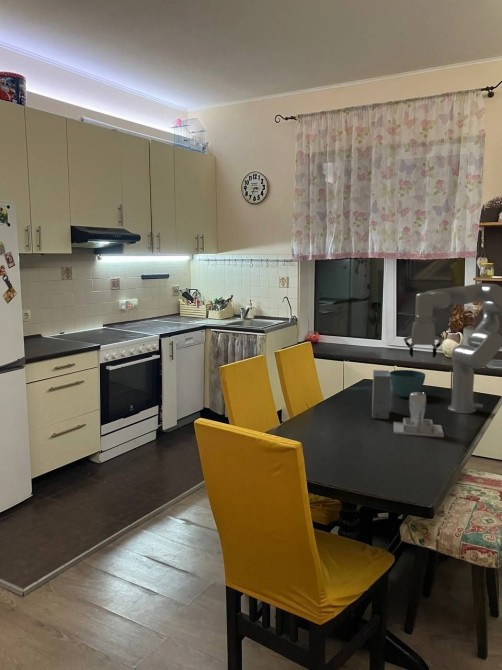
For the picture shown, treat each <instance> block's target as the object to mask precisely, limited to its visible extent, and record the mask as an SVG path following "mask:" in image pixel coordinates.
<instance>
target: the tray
mask: <svg viewBox="0 0 502 670" xmlns="http://www.w3.org/2000/svg"><path fill="white" fill-rule="evenodd" d="M433 423H434V422H433V420H432V419H428V418H426V419H425V418H423V425H424V426H421V420H417V425H416V426H412V425H409V424H410V417H403V418H402V422H401V421H393V434H394V435H404V436H405V435H407V436H408V435H409V436H421V437H432V438H433V437H434V438H435V437H436V438H444V437H445V433H444V430H443V427H442V425H441V424H433Z"/></svg>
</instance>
